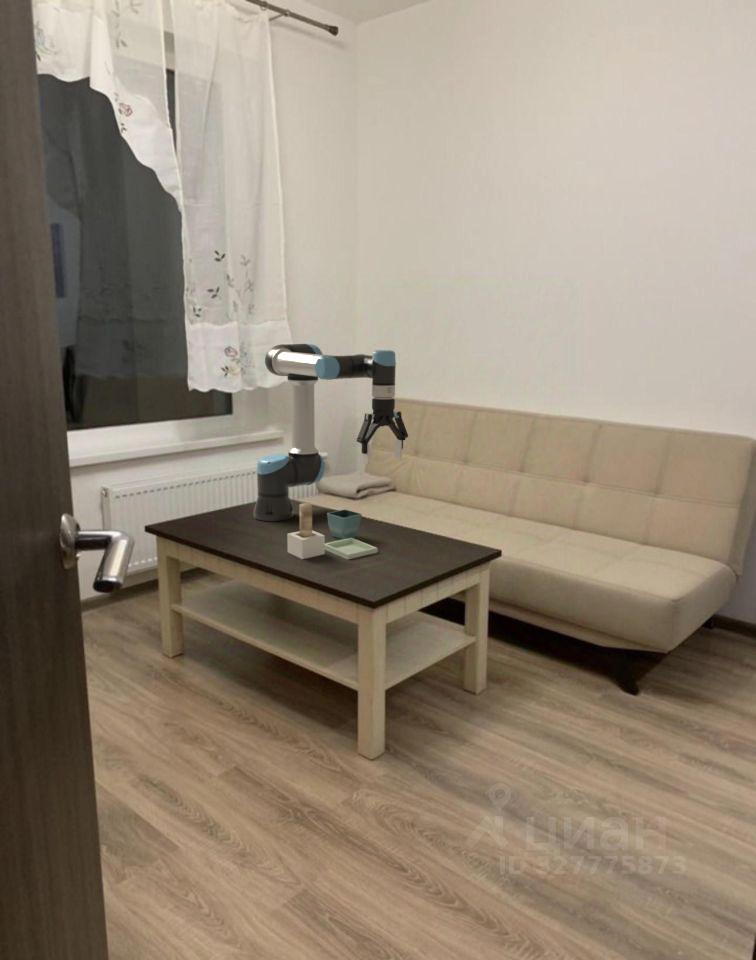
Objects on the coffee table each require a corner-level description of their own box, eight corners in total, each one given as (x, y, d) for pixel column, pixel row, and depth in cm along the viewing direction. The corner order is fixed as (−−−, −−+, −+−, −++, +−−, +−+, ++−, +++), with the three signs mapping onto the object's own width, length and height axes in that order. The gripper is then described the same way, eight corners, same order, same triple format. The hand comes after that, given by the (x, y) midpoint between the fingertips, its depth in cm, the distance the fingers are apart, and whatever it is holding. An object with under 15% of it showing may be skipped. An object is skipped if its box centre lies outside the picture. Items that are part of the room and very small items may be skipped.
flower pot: (345, 533, 267) (345, 508, 265) (362, 538, 261) (362, 513, 259) (326, 538, 261) (326, 513, 259) (343, 543, 255) (343, 518, 253)
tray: (322, 550, 247) (322, 543, 247) (351, 544, 255) (351, 537, 254) (347, 561, 237) (347, 554, 236) (377, 554, 244) (377, 547, 244)
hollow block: (287, 554, 243) (287, 533, 241) (309, 549, 248) (309, 529, 247) (302, 561, 236) (302, 540, 235) (324, 556, 242) (324, 535, 240)
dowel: (297, 552, 242) (297, 504, 239) (307, 550, 245) (307, 502, 241) (304, 555, 239) (303, 507, 236) (314, 553, 242) (314, 505, 238)
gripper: (360, 401, 237) (359, 467, 242) (419, 396, 253) (417, 458, 257) (346, 398, 243) (345, 463, 248) (404, 394, 258) (403, 455, 263)
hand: (382, 461), depth 252 cm, fingers open, 13 cm apart
